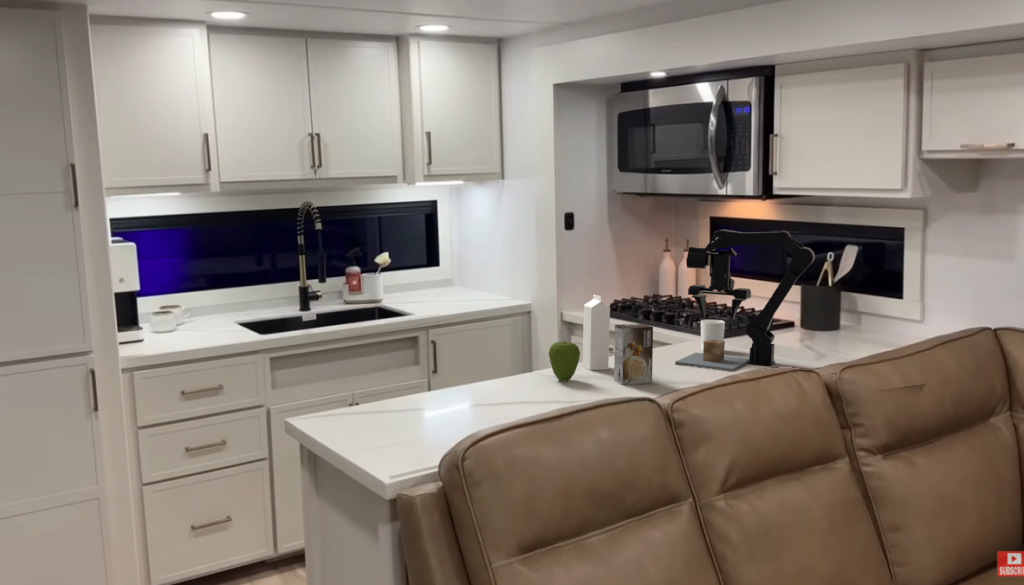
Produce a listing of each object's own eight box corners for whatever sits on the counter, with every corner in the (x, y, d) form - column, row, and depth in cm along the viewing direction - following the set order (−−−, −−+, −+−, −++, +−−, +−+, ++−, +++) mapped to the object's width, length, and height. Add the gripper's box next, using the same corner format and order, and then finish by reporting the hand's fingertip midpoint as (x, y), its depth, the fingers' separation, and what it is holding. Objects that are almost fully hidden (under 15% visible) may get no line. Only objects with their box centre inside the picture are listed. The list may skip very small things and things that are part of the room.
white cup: (722, 349, 296) (723, 319, 294) (725, 353, 288) (726, 323, 287) (698, 348, 296) (699, 319, 295) (700, 352, 289) (702, 322, 287)
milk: (600, 365, 266) (602, 293, 264) (608, 369, 261) (611, 296, 258) (581, 366, 265) (584, 294, 262) (589, 370, 259) (591, 296, 256)
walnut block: (723, 359, 273) (724, 341, 272) (718, 362, 269) (719, 343, 268) (708, 358, 276) (709, 339, 275) (703, 360, 271) (703, 341, 271)
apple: (584, 379, 247) (585, 339, 246) (570, 385, 240) (571, 343, 239) (557, 375, 252) (557, 336, 250) (543, 381, 244) (543, 340, 243)
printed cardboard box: (643, 378, 249) (644, 323, 247) (652, 383, 243) (654, 326, 241) (613, 380, 246) (614, 324, 244) (621, 385, 240) (623, 327, 238)
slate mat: (750, 361, 275) (750, 358, 275) (732, 371, 260) (732, 368, 260) (695, 354, 285) (695, 352, 285) (675, 364, 269) (675, 361, 269)
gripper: (757, 269, 276) (754, 318, 278) (700, 266, 286) (698, 313, 288) (746, 272, 267) (744, 323, 269) (688, 268, 277) (686, 317, 279)
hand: (718, 318), depth 276 cm, fingers open, 9 cm apart
